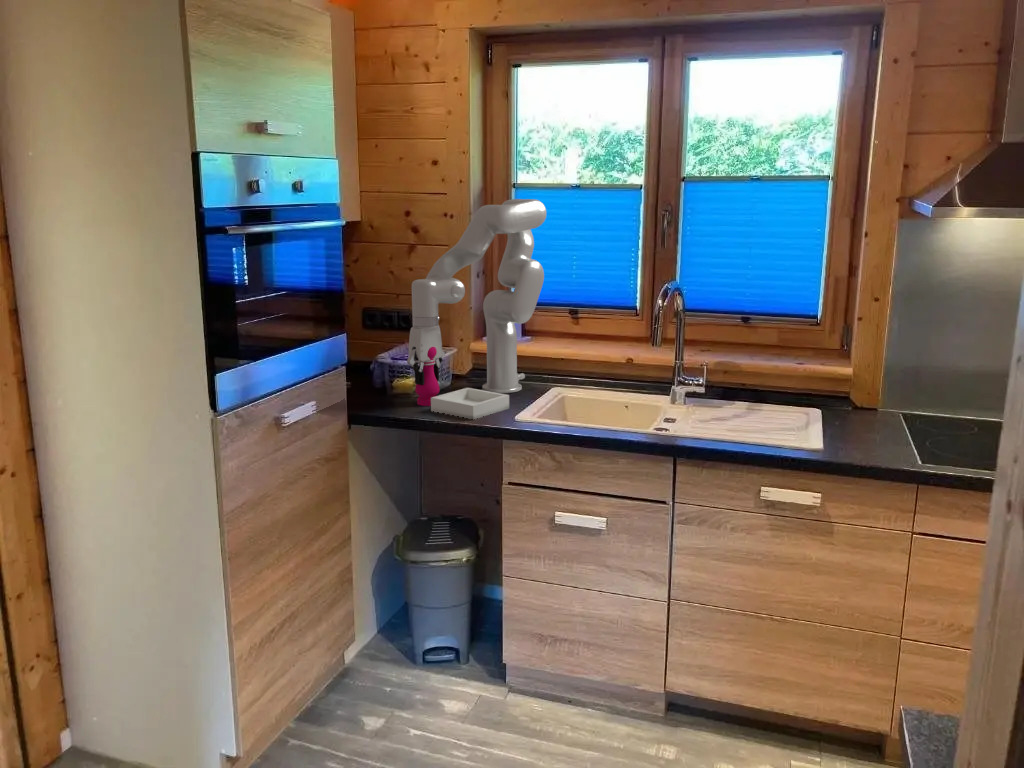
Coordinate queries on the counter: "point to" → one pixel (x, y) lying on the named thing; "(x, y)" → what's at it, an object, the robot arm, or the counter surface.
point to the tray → (470, 403)
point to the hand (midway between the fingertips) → (427, 381)
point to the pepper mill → (428, 381)
